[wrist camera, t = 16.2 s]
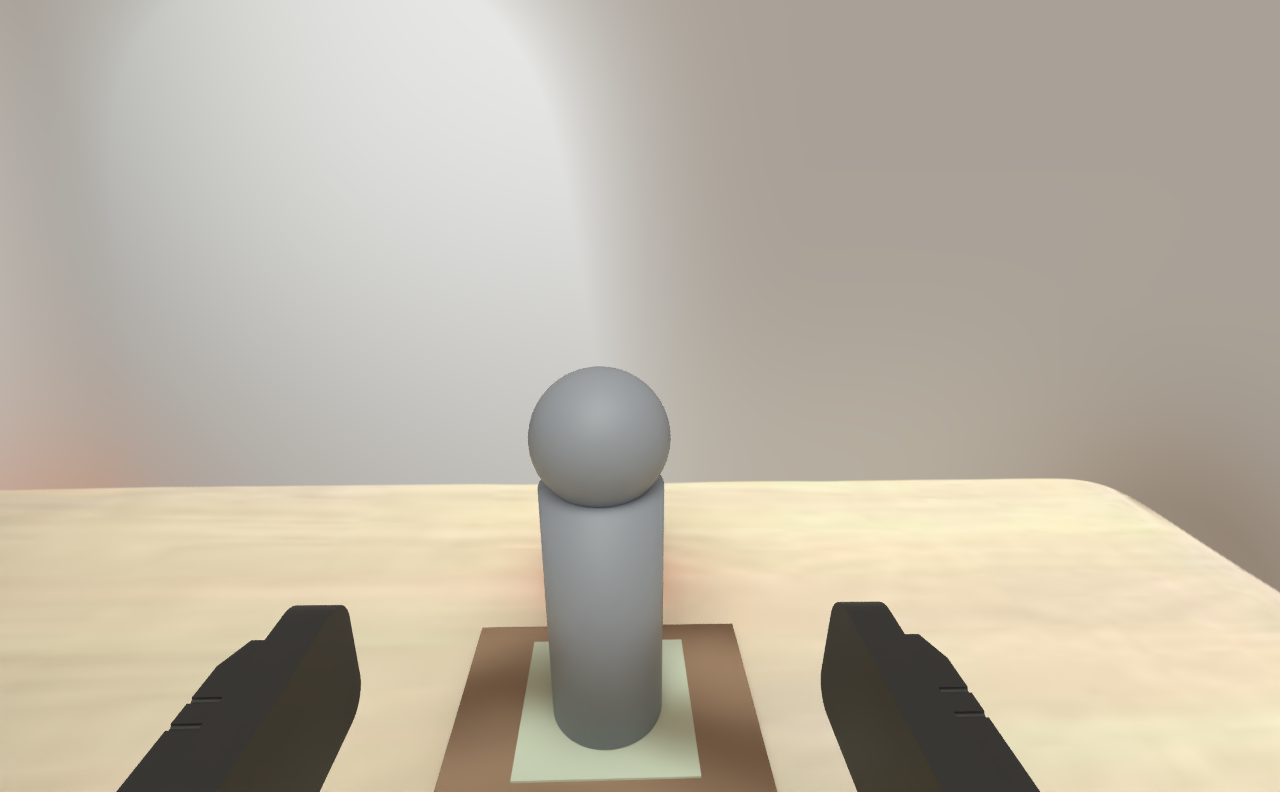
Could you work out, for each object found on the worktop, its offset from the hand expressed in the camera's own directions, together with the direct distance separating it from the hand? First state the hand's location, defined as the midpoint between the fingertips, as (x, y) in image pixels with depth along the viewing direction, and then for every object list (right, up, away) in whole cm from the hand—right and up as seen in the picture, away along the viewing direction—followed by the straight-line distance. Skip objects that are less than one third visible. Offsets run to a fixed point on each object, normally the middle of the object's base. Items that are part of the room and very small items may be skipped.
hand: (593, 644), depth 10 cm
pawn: (-1, -8, +14) cm, 17 cm away
